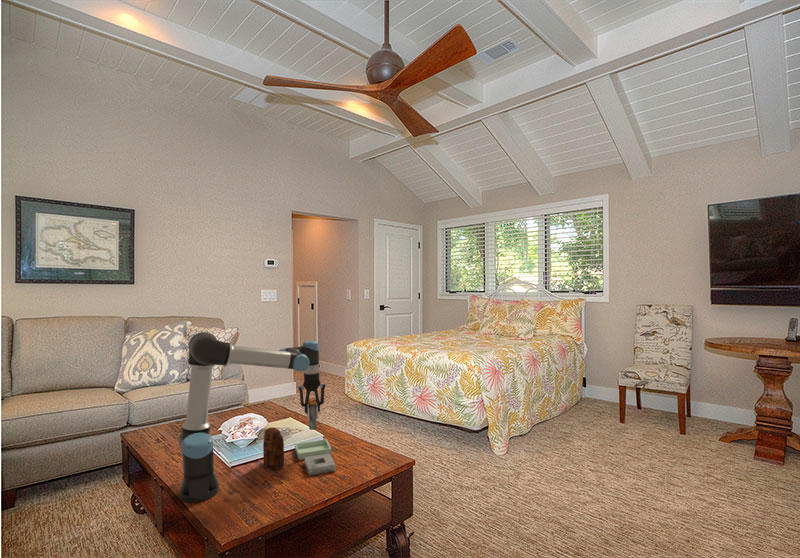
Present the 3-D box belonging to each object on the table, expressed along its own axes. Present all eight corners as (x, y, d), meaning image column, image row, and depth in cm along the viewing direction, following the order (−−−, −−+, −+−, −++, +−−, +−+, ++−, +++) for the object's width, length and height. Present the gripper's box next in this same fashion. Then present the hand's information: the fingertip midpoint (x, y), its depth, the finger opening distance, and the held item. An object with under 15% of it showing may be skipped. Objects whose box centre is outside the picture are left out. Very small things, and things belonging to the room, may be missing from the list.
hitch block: (308, 475, 209) (308, 468, 209) (304, 463, 220) (304, 457, 220) (335, 470, 213) (335, 464, 213) (329, 459, 225) (329, 453, 224)
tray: (298, 459, 224) (298, 453, 224) (294, 449, 235) (294, 443, 235) (331, 454, 230) (331, 448, 230) (326, 444, 241) (326, 438, 241)
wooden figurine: (258, 466, 218) (257, 428, 216) (267, 460, 224) (266, 424, 222) (278, 471, 213) (277, 433, 211) (287, 465, 219) (286, 428, 217)
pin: (308, 431, 229) (307, 402, 227) (306, 427, 233) (306, 399, 232) (319, 429, 230) (318, 401, 229) (317, 425, 235) (316, 398, 234)
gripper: (295, 376, 223) (296, 424, 225) (329, 372, 229) (330, 419, 231) (293, 372, 230) (294, 418, 232) (326, 368, 236) (327, 414, 238)
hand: (312, 418), depth 231 cm, fingers closed on pin, 4 cm apart
